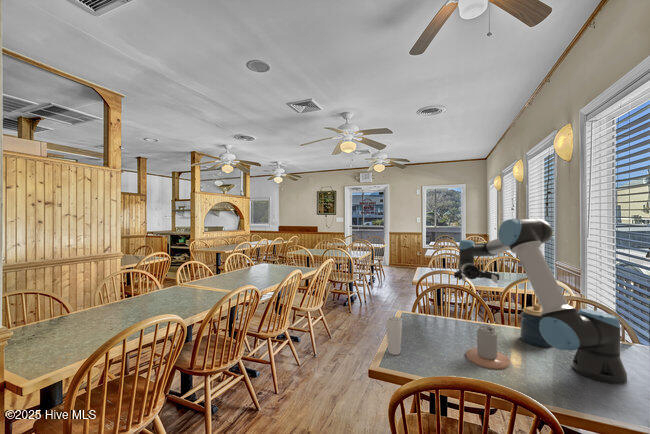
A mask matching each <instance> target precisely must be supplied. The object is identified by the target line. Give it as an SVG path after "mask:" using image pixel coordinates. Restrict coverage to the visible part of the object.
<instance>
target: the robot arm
mask: <svg viewBox="0 0 650 434" xmlns="http://www.w3.org/2000/svg"><path fill="white" fill-rule="evenodd" d="M497 233H498V234H497V235H498V238H495V239H493V240H490V241H487V242H484V243H483V242H482V243H475V241H473V240H471V239H463V240H462V239H461V240H460V241H459V243H458V244H459V245H458V249H459V253H458V254H459V259H458V260H459V262H458V265H457V267H458V271H455V272H454V273H453V274H454V275H453V276H454V279H458V280H459V281H461V280H462V281H463V283H465V282H466V279H469V280H476V279H478V278H480V279H488V280H491V281H492V282H493V283H495V284H498V281H499V280H500V274H498V273H496V272H491V271H487V270H484V271H482V270H480V269H479V268H478V266H476V265H475V257H494V256H497V255H498V254H500V253H503V252H507V251H511V253H513V254H515V255H517V258H518V260H519V263H520V264H521V266H522V268H523V270H524V273H525V275H526V277H527V279H528V281H529V284H530V286H531V287H532V290H533V293H534V294H535V296H536V298H537V300H538V303H539V306H540V308H542V312H541V314H540V316H541V318H542V320H541V321H540V323H539V324H540V326H539V330H540V333H541V335H542V337H543V338H544V339H545V341H546V342H547V343H548V344H550V345H551V347H553V348H554V349H556V350H559V351H569V352H571V351H576V352H575V354H574V356H573V359H572V368H573V369H574V370H575V371H576V372H577V373H579V374H581V375H582V376H584V377H587V378H589V379H592V380H595V381H599V382H602V383H607V384H614V385H615V384H616V385H621V384H625V383H627V381H628V374H627V371H626V367H625V366H624V364H623V361H622V358H621V330H622V328H621V322H620V319H619V318H618V317H617V316H615V315H613V314H610V313H607V312H602V311H599V310H594V309H588V308H579V309H578V310H577V308H575V307H574V306H572V305H570V304H569V303H568V301H567V299H566V297H565V296H564V293H563V291H562V290H561V287H560V286H559V283H558V282H557V280H556V278H555V276H554V274H553V272H552V270H551V268H550V266H549V263H548V262H547V260H546V258H545V256H544V254H543V252H542V250H541V246H542V245H543V244H545V243H547V242H548V241H550V239H551V238H552V236H553V228H552V226H551V224H550V223H549V222H547V221H546V220H544V219H540V218H511V219H505V220H504V221H502V222H501V224H500V226H499V228H498V232H497Z"/></svg>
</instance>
